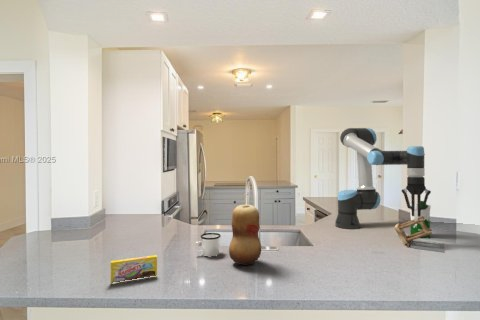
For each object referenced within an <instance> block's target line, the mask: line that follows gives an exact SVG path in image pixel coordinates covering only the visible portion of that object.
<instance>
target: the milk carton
mask: <svg viewBox="0 0 480 320" xmlns="http://www.w3.org/2000/svg"><path fill="white" fill-rule="evenodd" d="M420 202H421V207H422V205H423V202H424V200H420ZM410 206H412V203H410ZM409 210H410V211H409V212H410V214H409V215H410V221H411V220H414V216H412V210H411V209H409ZM415 210H418V203H415ZM430 215H431V205H430V204H427V203H426V206H425V209H423V210H421V216H420V217H422V216H424V218H425V219H424V223H425V225H426V226H427V228H428V229H429V228H431V219H430V218H431V216H430ZM418 218H419V217H418ZM420 231H423V228H422V227H421V225H420V223H417V224H414V225H412V226H410V235H412V234H415V233H417V232H420ZM423 237H428V238H431V234H430V235H426V236H423Z"/></svg>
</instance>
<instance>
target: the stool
mask: <svg viewBox="0 0 480 320" xmlns="http://www.w3.org/2000/svg"><path fill="white" fill-rule="evenodd" d="M424 219H425V218H424V216H422V217H419V218H418V220H417V221H414V220H411V219H410V220H407V221H406V222H403V223H397V224H395V226H394V227H393V229H394V230H395V232H396V234H397V235H398V237H399V239H400V240H401V242H402V244H403V245H407V243H408V241H410V242H411V240H413V241H415V240H417V239H420V237H423V236H426V235H430V236H431V235H432V234H433V233H432V228H431V227H430V228H429V229H428V228H427V226H426V225H425V223H424ZM417 223H420V225H421V227H422V228H423V231H420V232H417V233H415V234H412V235H411V234H408V235H407V234H406V232H405V230H404V229H405V228H409V227H411V226H412V225H414V224H417Z"/></svg>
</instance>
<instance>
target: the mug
mask: <svg viewBox="0 0 480 320" xmlns="http://www.w3.org/2000/svg"><path fill="white" fill-rule="evenodd" d="M200 239H201V240H199V241H196V242H195V244H194V249H195V252H196V253H201V256H202V257H204V256H216V255H218V254H219V253H221V252H220V250H221V249H220V248H221V247H220V241H221V240H220V239H221V233H218V232H206V233H202V234H201V235H200ZM197 243H198V244H199V243H201V249H200V250H197ZM219 255H220V254H219ZM219 255H218V256H219ZM216 257H217V256H216Z"/></svg>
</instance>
